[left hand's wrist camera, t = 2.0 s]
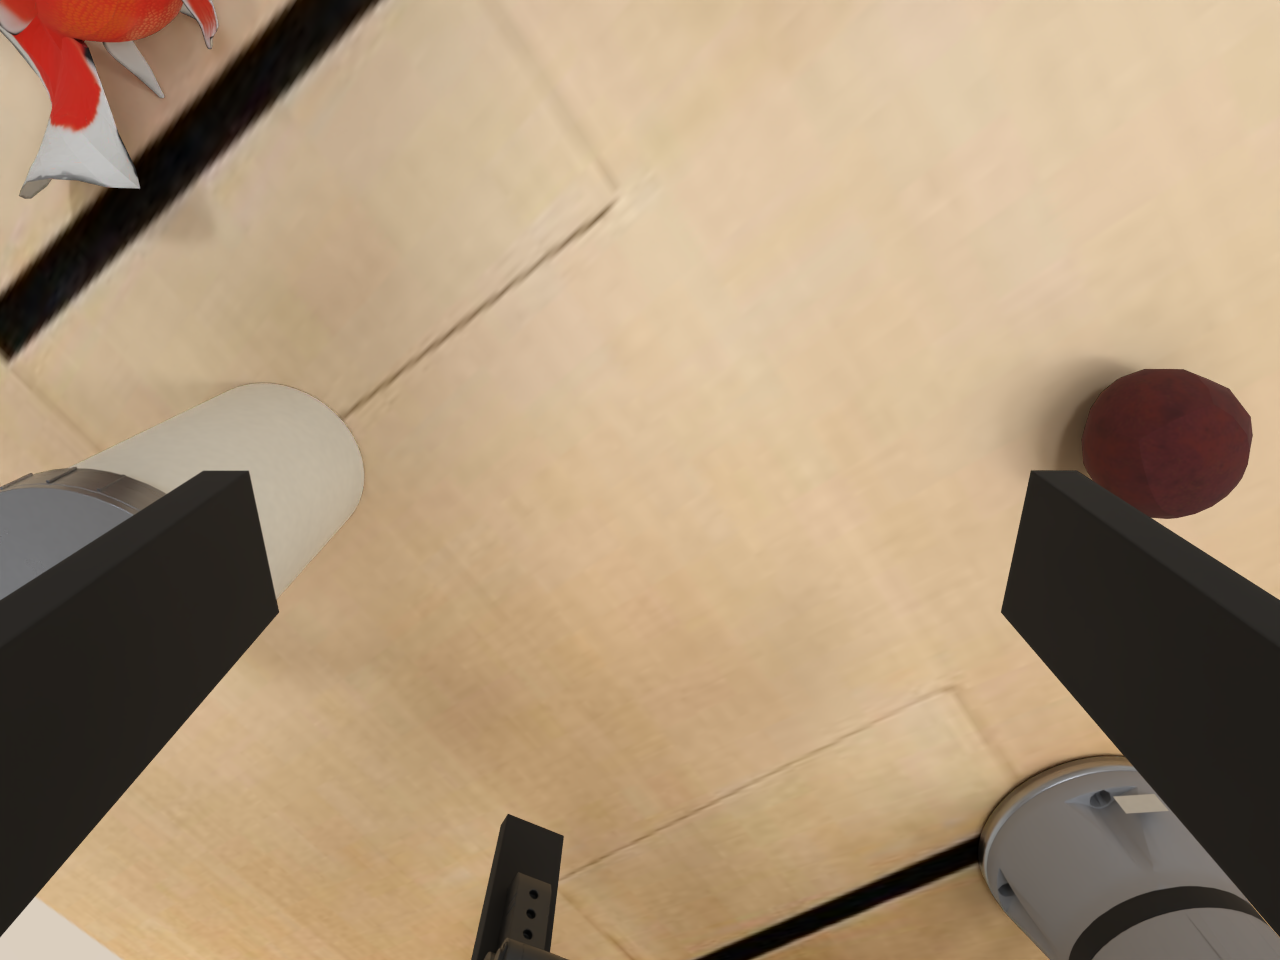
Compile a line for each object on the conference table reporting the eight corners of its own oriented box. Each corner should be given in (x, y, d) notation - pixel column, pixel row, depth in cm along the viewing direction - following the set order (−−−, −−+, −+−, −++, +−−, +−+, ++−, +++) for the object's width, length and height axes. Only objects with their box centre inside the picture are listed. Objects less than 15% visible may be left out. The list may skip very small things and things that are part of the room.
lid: (302, 586, 29) (279, 613, 27) (164, 741, 31) (135, 775, 30) (54, 409, 26) (10, 426, 24) (-72, 596, 29) (-121, 623, 27)
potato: (1083, 507, 43) (1164, 565, 36) (1032, 401, 40) (1108, 441, 34) (1208, 441, 41) (1315, 488, 35) (1162, 326, 39) (1268, 354, 32)
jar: (398, 462, 42) (268, 607, 27) (303, 570, 44) (138, 755, 30) (253, 346, 39) (24, 437, 25) (161, 467, 42) (-95, 615, 27)
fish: (339, 85, 30) (58, 18, 22) (188, 260, 39) (-52, 257, 31) (239, -158, 30) (-83, -317, 22) (110, 74, 39) (-153, 22, 31)
